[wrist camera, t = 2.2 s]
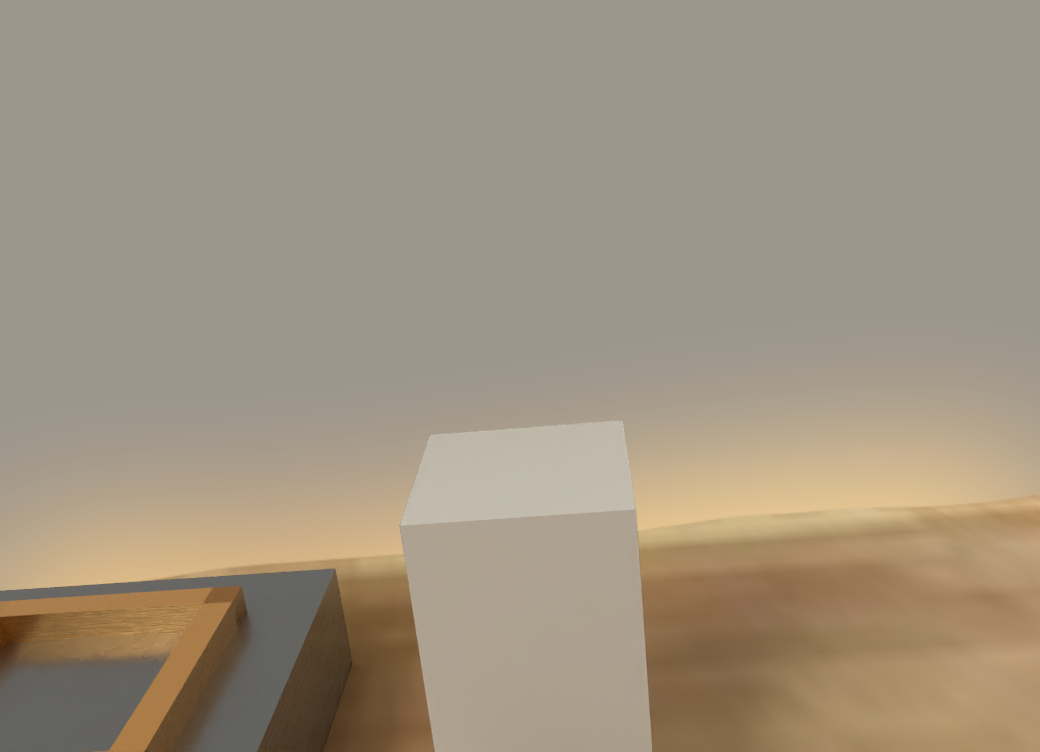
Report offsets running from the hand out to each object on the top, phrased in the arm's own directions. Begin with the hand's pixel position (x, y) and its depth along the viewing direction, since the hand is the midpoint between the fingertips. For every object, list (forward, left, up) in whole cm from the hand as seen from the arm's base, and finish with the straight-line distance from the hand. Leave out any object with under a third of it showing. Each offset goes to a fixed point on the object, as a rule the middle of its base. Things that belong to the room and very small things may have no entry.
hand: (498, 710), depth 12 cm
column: (0, +11, -14) cm, 18 cm away
